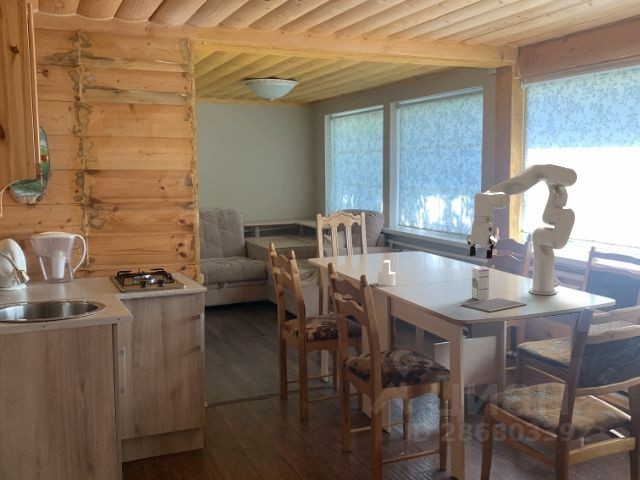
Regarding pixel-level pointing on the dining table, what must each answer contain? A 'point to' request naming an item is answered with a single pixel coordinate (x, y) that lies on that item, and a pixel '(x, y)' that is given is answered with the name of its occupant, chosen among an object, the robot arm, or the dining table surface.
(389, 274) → the base with upright slab
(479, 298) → the syrup box
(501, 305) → the mat
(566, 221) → the robot arm
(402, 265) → the dining table surface
